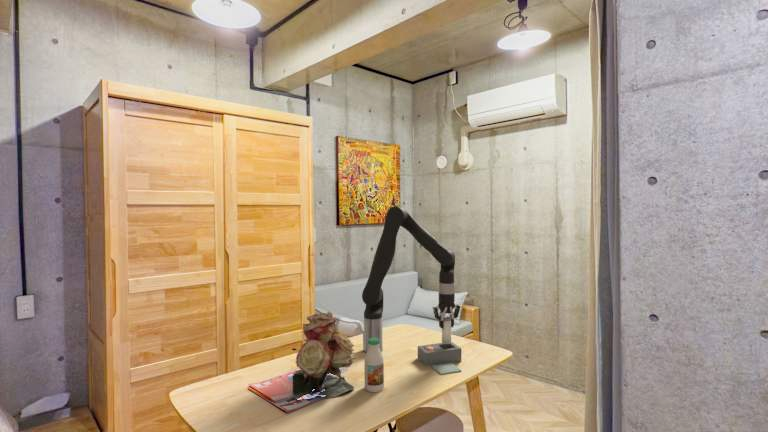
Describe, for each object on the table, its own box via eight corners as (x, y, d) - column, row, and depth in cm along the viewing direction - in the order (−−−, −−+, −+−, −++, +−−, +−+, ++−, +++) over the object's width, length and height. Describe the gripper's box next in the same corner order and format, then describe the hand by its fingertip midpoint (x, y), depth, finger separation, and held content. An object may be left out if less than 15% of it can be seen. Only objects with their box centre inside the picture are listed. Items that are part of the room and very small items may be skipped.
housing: (426, 366, 182) (426, 353, 182) (417, 358, 192) (417, 346, 192) (461, 361, 188) (461, 348, 188) (451, 353, 197) (451, 341, 197)
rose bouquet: (294, 407, 146) (293, 326, 145) (290, 375, 174) (289, 307, 173) (363, 398, 153) (362, 320, 152) (348, 368, 181) (347, 302, 180)
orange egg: (427, 362, 186) (427, 349, 186) (424, 359, 190) (424, 346, 189) (435, 361, 187) (435, 348, 187) (431, 358, 191) (431, 345, 191)
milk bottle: (361, 390, 159) (360, 340, 159) (370, 382, 166) (370, 335, 165) (378, 394, 155) (377, 343, 155) (387, 386, 162) (386, 337, 162)
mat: (440, 374, 173) (440, 373, 173) (431, 366, 181) (431, 365, 181) (461, 371, 176) (461, 370, 176) (451, 363, 185) (451, 362, 185)
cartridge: (444, 344, 188) (444, 319, 188) (439, 341, 192) (440, 316, 192) (453, 343, 190) (453, 318, 189) (448, 340, 194) (448, 315, 194)
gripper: (456, 289, 196) (455, 323, 197) (429, 291, 192) (429, 326, 192) (463, 292, 189) (463, 328, 190) (436, 294, 184) (436, 331, 185)
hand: (446, 327), depth 191 cm, fingers closed on cartridge, 4 cm apart
